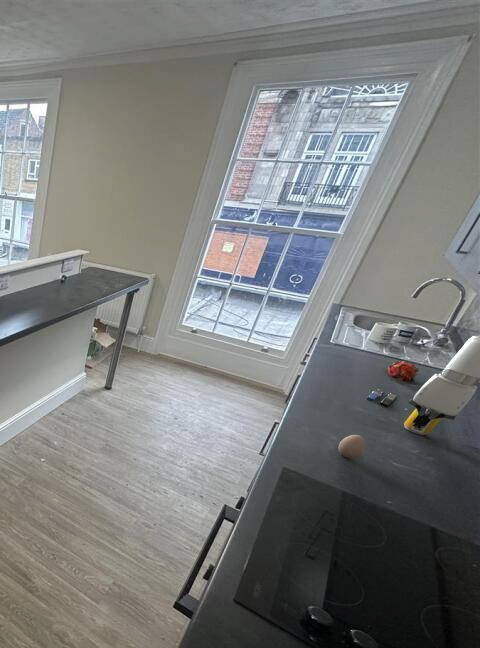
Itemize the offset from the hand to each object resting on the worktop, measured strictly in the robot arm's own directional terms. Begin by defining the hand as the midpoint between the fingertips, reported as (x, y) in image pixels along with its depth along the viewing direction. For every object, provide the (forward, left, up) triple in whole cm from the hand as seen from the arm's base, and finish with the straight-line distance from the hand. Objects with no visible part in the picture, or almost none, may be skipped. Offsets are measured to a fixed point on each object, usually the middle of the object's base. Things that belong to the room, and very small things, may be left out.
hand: (416, 426), depth 128 cm
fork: (+24, -14, -3) cm, 28 cm away
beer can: (+2, -4, -3) cm, 6 cm away
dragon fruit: (+37, -39, -3) cm, 54 cm away
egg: (-11, +36, -3) cm, 38 cm away
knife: (+20, -16, -3) cm, 26 cm away
